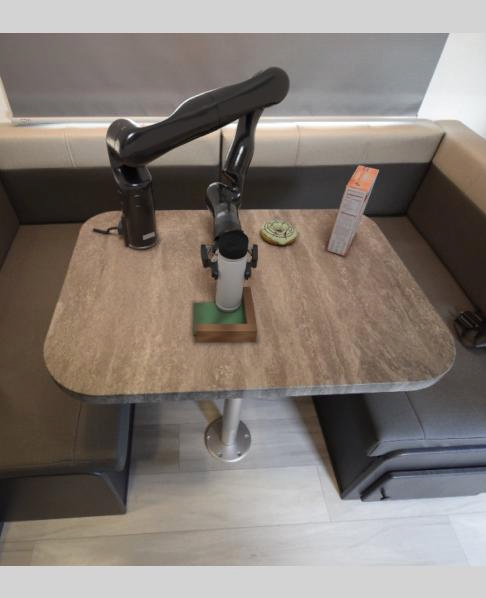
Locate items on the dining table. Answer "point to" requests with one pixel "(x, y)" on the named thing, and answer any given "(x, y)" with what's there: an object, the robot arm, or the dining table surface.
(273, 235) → the decorated donut
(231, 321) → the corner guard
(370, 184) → the cracker box
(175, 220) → the dining table surface
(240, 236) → the travel mug
